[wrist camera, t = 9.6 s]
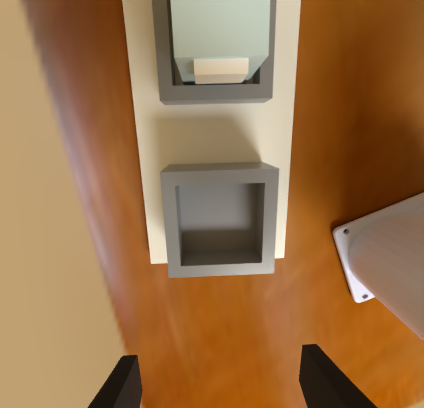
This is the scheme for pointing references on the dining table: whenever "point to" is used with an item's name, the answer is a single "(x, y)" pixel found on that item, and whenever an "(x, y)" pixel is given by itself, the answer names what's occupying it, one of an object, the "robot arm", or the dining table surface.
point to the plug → (220, 39)
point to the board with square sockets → (213, 149)
